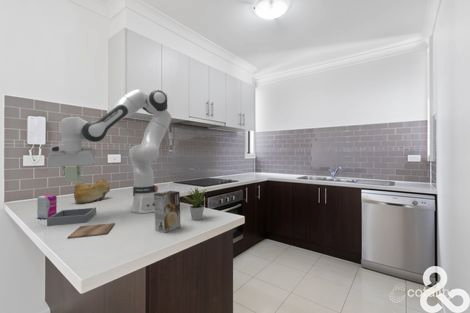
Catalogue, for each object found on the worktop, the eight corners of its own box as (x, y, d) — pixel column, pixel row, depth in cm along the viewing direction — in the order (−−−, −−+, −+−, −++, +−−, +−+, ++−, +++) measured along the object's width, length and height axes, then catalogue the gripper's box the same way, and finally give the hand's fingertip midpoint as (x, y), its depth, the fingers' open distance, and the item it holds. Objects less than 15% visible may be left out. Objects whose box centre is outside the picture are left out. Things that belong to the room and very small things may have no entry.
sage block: (80, 180, 117) (80, 165, 117) (77, 181, 112) (76, 165, 112) (69, 180, 116) (68, 165, 115) (65, 182, 111) (64, 166, 111)
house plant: (199, 212, 124) (199, 183, 124) (217, 217, 115) (217, 185, 115) (178, 218, 113) (177, 186, 113) (196, 224, 104) (196, 189, 104)
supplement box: (46, 219, 115) (45, 197, 115) (37, 218, 116) (36, 196, 116) (57, 216, 121) (56, 195, 120) (48, 215, 122) (47, 194, 122)
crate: (96, 213, 124) (96, 207, 124) (86, 222, 109) (86, 215, 109) (62, 216, 119) (62, 210, 119) (47, 225, 104) (46, 218, 104)
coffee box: (170, 224, 104) (170, 190, 104) (180, 227, 100) (180, 191, 100) (154, 230, 96) (153, 193, 96) (164, 233, 93) (163, 194, 92)
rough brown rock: (99, 197, 175) (97, 178, 175) (113, 197, 167) (111, 177, 167) (66, 205, 154) (64, 183, 154) (80, 205, 147) (77, 182, 147)
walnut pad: (114, 224, 105) (114, 222, 105) (107, 234, 92) (107, 232, 92) (80, 227, 101) (80, 226, 101) (67, 238, 88) (67, 237, 88)
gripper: (97, 147, 120) (97, 173, 120) (51, 148, 114) (52, 175, 114) (93, 147, 114) (94, 174, 114) (45, 148, 108) (46, 176, 108)
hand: (73, 175), depth 114 cm, fingers closed on sage block, 5 cm apart
